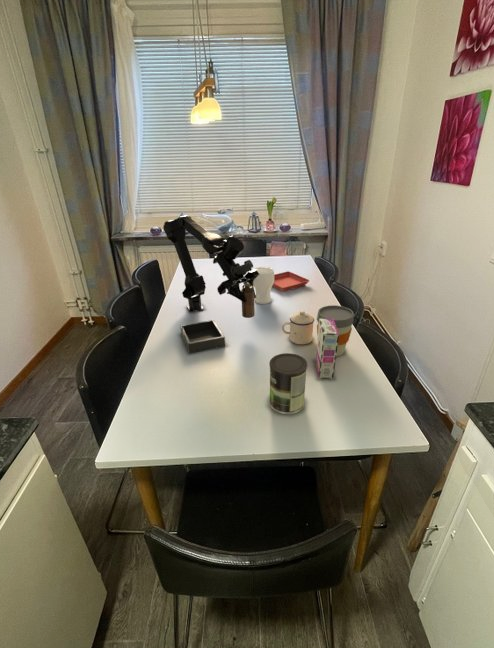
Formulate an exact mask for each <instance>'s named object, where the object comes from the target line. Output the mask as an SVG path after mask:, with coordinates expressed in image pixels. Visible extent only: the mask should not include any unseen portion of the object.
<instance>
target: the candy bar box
mask: <svg viewBox="0 0 494 648" xmlns="http://www.w3.org/2000/svg"><path fill="white" fill-rule="evenodd" d="M316 340H317V341H316V349H315V366H316V371H317V376H318V379H323V380H324V379H326V380H333V379H334V375H335V369H336V360H337V356H336V354H337V347H338V340H339V333H338V330H337V327H336V324H335V322H334V319H319V329H318V337H317V339H316Z"/></svg>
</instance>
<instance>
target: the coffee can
mask: <svg viewBox="0 0 494 648" xmlns="http://www.w3.org/2000/svg"><path fill="white" fill-rule="evenodd" d="M307 369H308V361H307V360H306V358H305V357H304V356H301V355H299V354H296V353H292V352H291V353H289V352H288V353H287V352H286V353H285V352H284V353H279V354H277V355H274V356H273V357H272V358H270V360H269V400H268V402H269V406H270V408H271V409H272V410H273V411H274V412H276V413H279V414H281V415H294V414H297V413H299V412H301V411H302V410H303V409H304V407H305V396H306V395H305V393H306V381H307Z"/></svg>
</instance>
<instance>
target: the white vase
mask: <svg viewBox="0 0 494 648" xmlns="http://www.w3.org/2000/svg"><path fill="white" fill-rule="evenodd" d="M252 270H257V271H258V273H259V275H258V276H257V277H256V278H255V279H254V281H253V286H254V291H255V295H256V298H255V299H254V303H256V304H262V305H264V304H265V305H266V304H269V303H271V302H272V297H271V290H272V287H273V283H274V275H275V271H274V269H273V268H272V267H269V266H259V267H253V268H252Z"/></svg>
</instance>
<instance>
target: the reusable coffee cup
mask: <svg viewBox="0 0 494 648" xmlns="http://www.w3.org/2000/svg"><path fill="white" fill-rule="evenodd" d="M316 315H317V316H316V321H317V324H316V337H317V338H318V329H319V319H334V322H335V324H336V327H337V330H338V333H339V340H338V347H337V354H336V357H339V356H342V355H343V354H344V353H345V350H346V346H347V343H349V340H350V337H351V333H352V329H353V328H352V326H353V324H354V321H355V319H354V317H355V313H354V311H353V310H352V309H351V308H349V307H346V306H342V305H335V304H334V305H325V306H322V307H320V308H319V309H318V311H317V314H316Z"/></svg>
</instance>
